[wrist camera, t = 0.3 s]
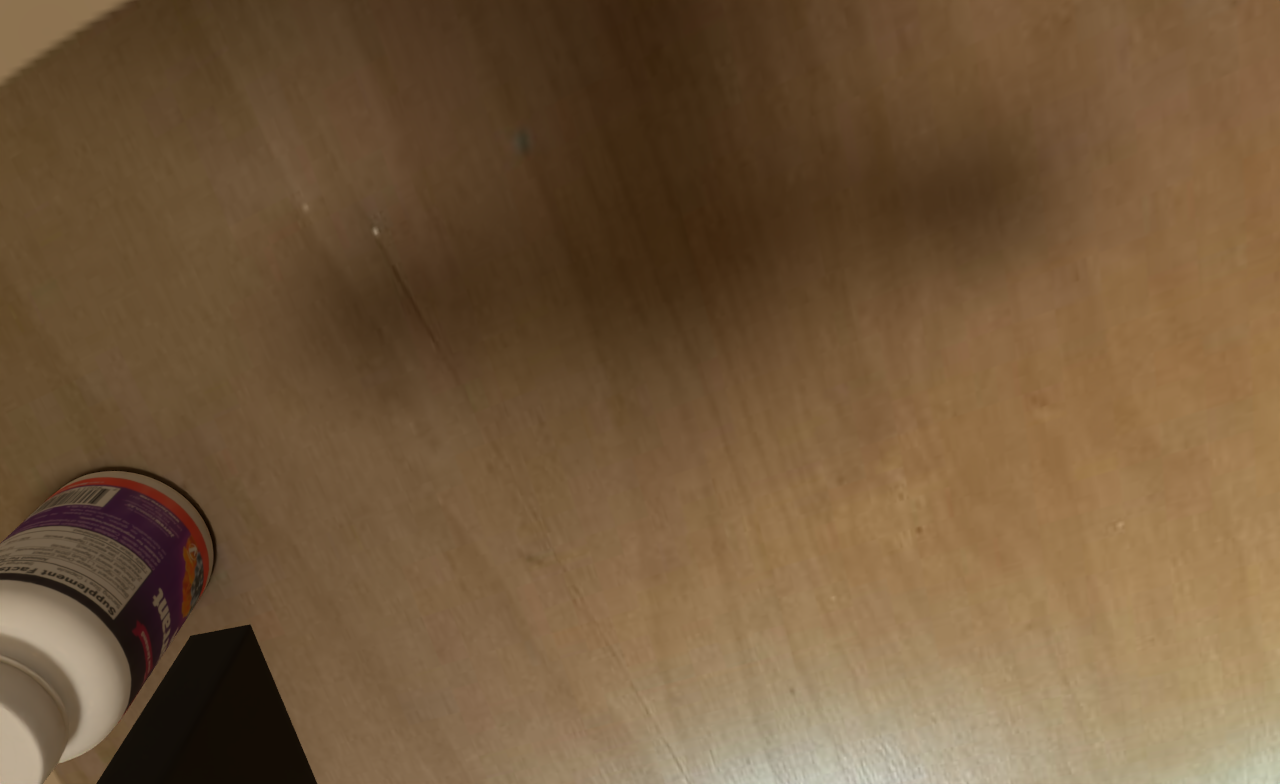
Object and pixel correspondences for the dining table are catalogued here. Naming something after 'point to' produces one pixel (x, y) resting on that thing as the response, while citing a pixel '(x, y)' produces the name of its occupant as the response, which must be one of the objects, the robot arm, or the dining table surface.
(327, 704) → the dining table surface
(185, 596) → the pill bottle
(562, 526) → the dining table surface
